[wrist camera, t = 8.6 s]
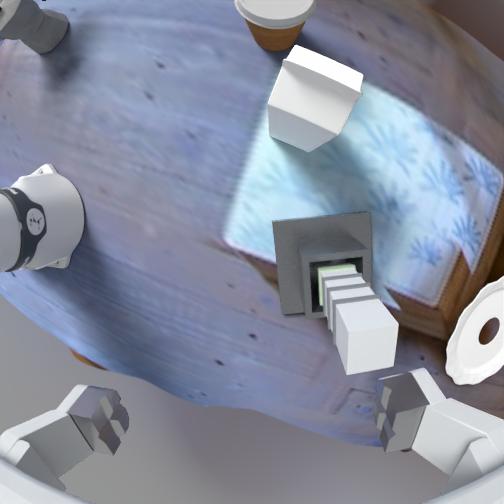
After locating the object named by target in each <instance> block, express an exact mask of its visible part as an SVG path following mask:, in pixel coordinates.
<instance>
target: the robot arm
mask: <svg viewBox="0 0 504 504" xmlns="http://www.w3.org/2000/svg"><path fill="white" fill-rule="evenodd" d="M83 228H84V210H83V205H82V201H81V198H80V196H79V193H78V191H77V190H76V188H75V187H74V185H73V184H72V183H71V182H70V181H69V180H68V179H66V178H64V177H63V176H61V175H59V174H58V173H57V171H56V170H55V168H54V167H53V166H52V165H51V164H45V165H43V166H42V167H40V168H39V169H38V170H36V171H35V172H33V173H32V174H31V175H29V176H23V177H20V178H19V180H18V181H16V182H15V183H14V184H13V185H12V186H11V187H10V188H1V189H0V273H2V272H4V271H5V272H11V271H13V270H14V271H15V270H18V269H20V270H25V269H28V268H29V270H34V269H36V270H37V269H41V268H43V267H45V266H49V267H55V268H61V269H63V268H66V267H68V265H69V262H70V258H71V254H72V252H73V250H74V249H75V248H76V246H77V245H78V243H79V241H80V239H81V236H82V233H83ZM58 261H59V262H58ZM375 389H376V392H377V394H378V395H377V397H376V398H375V399H374V402H373V417H374V422H375V425H376V428H378V429H380V430H381V435H380V440H381V443H382V446H383V448H384V451H385V453H389V452H394V451H398V450H402V449H406V448H410V447H412V449H413V450H414V451H416V452H417V453H419V454H420V455H421V456H423V457H424V458H425V459H427V460H428V461H429V462H431V463H432V464H434V465H435V466H437V467H438V468H439V469H441V470H442V471H443V472H445V473H447V474H448V475H449V476H451V477H450V478H449V480H448V481H447V483H446V484H445V486H444V487H443V488H442V490H441V492H440V494H441V496H440V497H438V498H435V499H432V500H430V501H427V502H424V503H421V504H504V420H503V419H500V418H497V417H495V416H492V415H490V414H487V413H485V412H482V411H480V410H478V409H475V408H473V407H470V406H468V405H466V404H463V403H461V402H458V401H456V400H454V399H451V398H450V399H446V398H445V396H444V395H443V393H442V392H441V390H440V389H439V387H438V386H437V384H436V383H435V382H434V380H433V379H432V377H431V376H430V374H429V373H428V371H427V370H426V369H425V368H420V369H417V370H413V371H409V372H406V373H402V374H398V375H393V376H389V377H384V378H379V379H378V380H377V382H376V388H375ZM120 400H121V398H120V396H119V395H118V392H117V391H115V390H113V389H107V388H100V387H95V386H87V385H82V384H79V385H76V386H75V388H74V389H73V390H72V391H71V392H70V394H69V395H68V396H67V397H66V398H65V399H64V401H63V402H62V403H61V404H60V406H59V407H58V408H57V409H56V410H51V411H49V412H47V413H44V414H42V415H40V416H38V417H36V418H33V419H31V420H29V421H27V422H24V423H22V424H20V425H18V426H15V427H13V428H10V429H8V430H6V431H5V432H4V433H3V434H2V435H1V436H0V504H95V503H92V502H90V501H87V500H84V499H81V498H79V497H76V496H74V495H71V494H69V493H67V492H65V490H66V487H65V485H64V484H63V483H62V482H61V481H60V480H59V479H58V478H59V477H60V476H62V475H63V474H65V473H66V472H67V471H69V470H70V469H72V468H73V467H74V466H76V465H77V464H78V463H80V462H81V461H83V460H84V459H85V458H87V457H88V456H90V455H91V454H92V453H93V451H94V452H99V453H103V454H108V455H113V456H114V454H115V452H116V450H117V448H118V447H119V445H120V443H121V442H120V438H119V437H120V436H122V435H124V434H125V433H126V431H127V429H128V426H129V416H128V413H127V411H126V409H125V408H124V407H123V406H122V405H121V404H120V403H119V402H120Z"/></svg>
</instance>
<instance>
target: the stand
mask: <svg viewBox="0 0 504 504" xmlns="http://www.w3.org/2000/svg"><path fill="white" fill-rule="evenodd" d="M272 225H273V234H274V243H275V252H276V262H277V272H278V282H279V292H280V302H281V313H282V314H293V313H302V312H304V313H305V317H306V319H314V318H323V317H327V316H324V315H323V305H321V306H320V303H319V284H318V266H326V265H335V264H344V263H350V264H351V265H355V267H356V271H357V273H362V275H363V280H364V281H365V282H366V283H368V282H369V283H370V284H371V290H372V243H371V217H370V212H360V213H348V214H337V215H326V216H315V217H305V218H295V219H285V220H275V221H272Z"/></svg>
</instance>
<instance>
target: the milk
mask: <svg viewBox="0 0 504 504" xmlns="http://www.w3.org/2000/svg"><path fill="white" fill-rule="evenodd" d="M362 80H363V74H361V73H359V72H357V71H355V70H353V69H351V68H349V67H347V66H345V65H343V64H341V63H338V62H336V61H334V60H332V59H329V58H327V57H325V56H323V55H320V54H318V53H315V52H313V51H310V50H308V49H305V48H303V47H300V46H298V45H295V46H294V47H293V49H292V51H291V52H290V54H289V56H288V57H287V59H284V60H283V64H282V68H281V70H280V73H279V76H278V78H277V81H276V83H275V86H274V88H273V91H272V94H271V96H270V99H269V101H268V119H269V136H271V137H273V138H276V139H278V140H281V141H283V142H285V143H288V144H290V145H292V146H295V147H297V148H299V149H302V150H304V151H306V152H308V153H309V152H311V151H312V150H314V149H316V148H317V147H319V146H321V145H323V144H324V143H326V142H328V141H329V140H331V139H333V138H335V137H336V136H338V135H339V134H340V133H341V131H342V129H343V127H344V125H345V123H346V121H347V119H348V117H349V115H350V113H351V111H352V110H353V108H354V106H355V104H356V102H357V100H358V99H359V98H360V97H361V96H362V95H363V94H362V92H361V91H360V88H361V84H362Z"/></svg>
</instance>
